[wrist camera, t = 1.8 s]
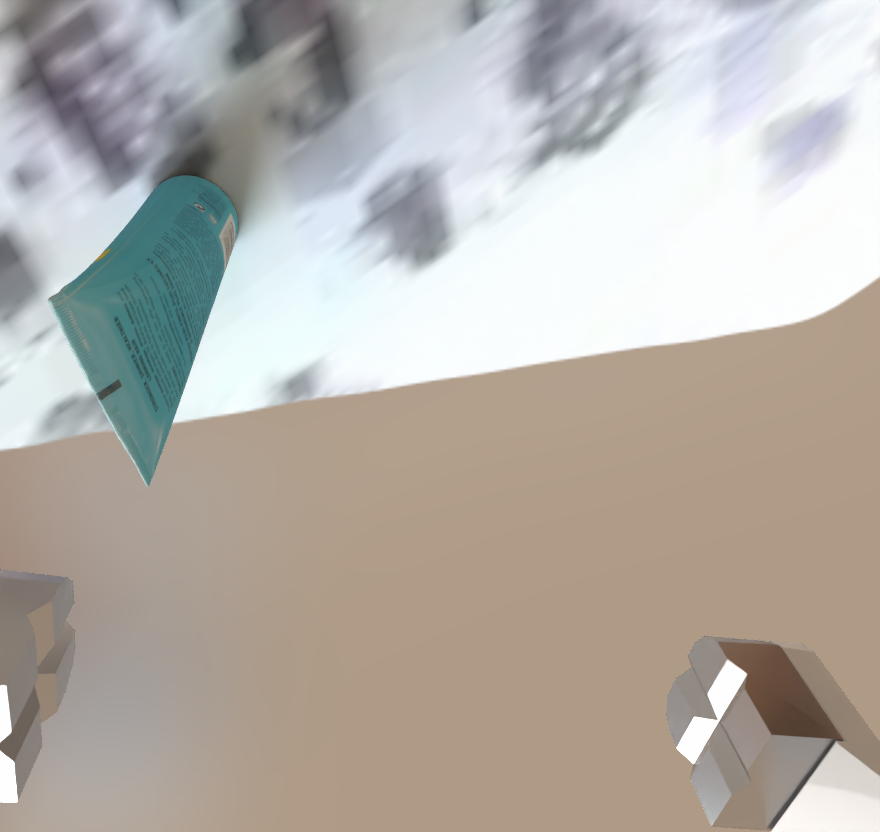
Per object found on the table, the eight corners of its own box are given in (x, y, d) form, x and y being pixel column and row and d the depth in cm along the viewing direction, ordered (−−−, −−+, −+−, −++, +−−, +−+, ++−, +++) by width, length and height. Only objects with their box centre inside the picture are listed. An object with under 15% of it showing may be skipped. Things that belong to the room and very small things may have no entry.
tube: (119, 167, 37) (-31, 324, 21) (206, 140, 37) (120, 277, 21) (183, 293, 42) (98, 502, 26) (262, 268, 41) (225, 463, 25)
